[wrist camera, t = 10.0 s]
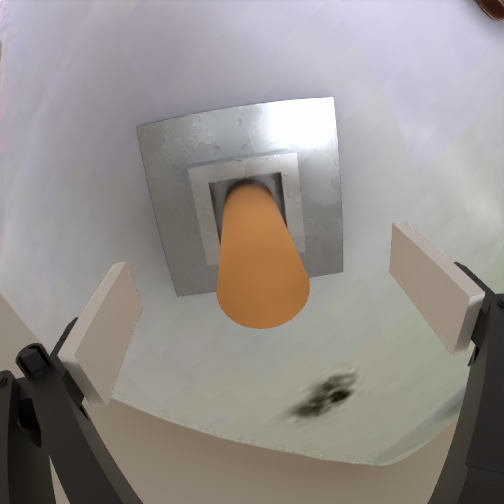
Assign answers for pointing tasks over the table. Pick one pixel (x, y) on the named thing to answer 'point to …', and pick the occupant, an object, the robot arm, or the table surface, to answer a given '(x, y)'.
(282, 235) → the pin
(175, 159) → the grey square socket base
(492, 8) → the coffee cup
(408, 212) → the table surface
